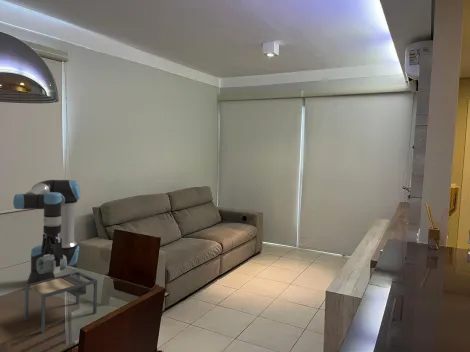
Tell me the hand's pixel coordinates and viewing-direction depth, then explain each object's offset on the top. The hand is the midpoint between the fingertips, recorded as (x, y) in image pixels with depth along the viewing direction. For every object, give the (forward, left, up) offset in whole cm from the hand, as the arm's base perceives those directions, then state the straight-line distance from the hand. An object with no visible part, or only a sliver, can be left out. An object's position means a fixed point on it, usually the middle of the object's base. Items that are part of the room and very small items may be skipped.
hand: (51, 270), depth 170 cm
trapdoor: (0, +4, -14) cm, 14 cm away
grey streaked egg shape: (0, 0, -1) cm, 1 cm away
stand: (0, +6, -25) cm, 26 cm away
